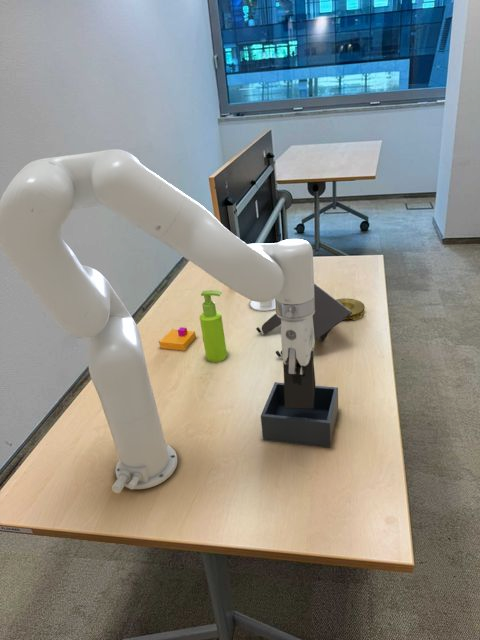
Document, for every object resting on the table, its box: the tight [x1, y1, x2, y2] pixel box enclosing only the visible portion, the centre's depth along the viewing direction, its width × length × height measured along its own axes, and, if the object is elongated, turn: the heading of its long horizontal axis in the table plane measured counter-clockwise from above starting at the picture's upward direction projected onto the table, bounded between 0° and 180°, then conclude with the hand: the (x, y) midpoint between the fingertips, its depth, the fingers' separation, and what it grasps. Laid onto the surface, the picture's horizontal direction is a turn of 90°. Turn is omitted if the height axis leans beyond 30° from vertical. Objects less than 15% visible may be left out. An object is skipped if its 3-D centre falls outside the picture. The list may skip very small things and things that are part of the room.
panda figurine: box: [249, 298, 276, 312], centre depth 159 cm, size 12×11×15 cm
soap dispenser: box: [199, 289, 228, 363], centre depth 130 cm, size 6×7×20 cm
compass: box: [335, 297, 365, 321], centre depth 151 cm, size 12×12×2 cm
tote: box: [260, 381, 339, 449], centre depth 105 cm, size 13×15×7 cm
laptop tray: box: [255, 283, 352, 360], centre depth 139 cm, size 23×23×9 cm
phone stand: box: [282, 348, 317, 409], centre depth 100 cm, size 9×6×12 cm, turn 172°
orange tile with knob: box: [158, 326, 197, 352], centre depth 143 cm, size 8×8×4 cm
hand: (299, 383), depth 101 cm, fingers closed on phone stand, 2 cm apart
